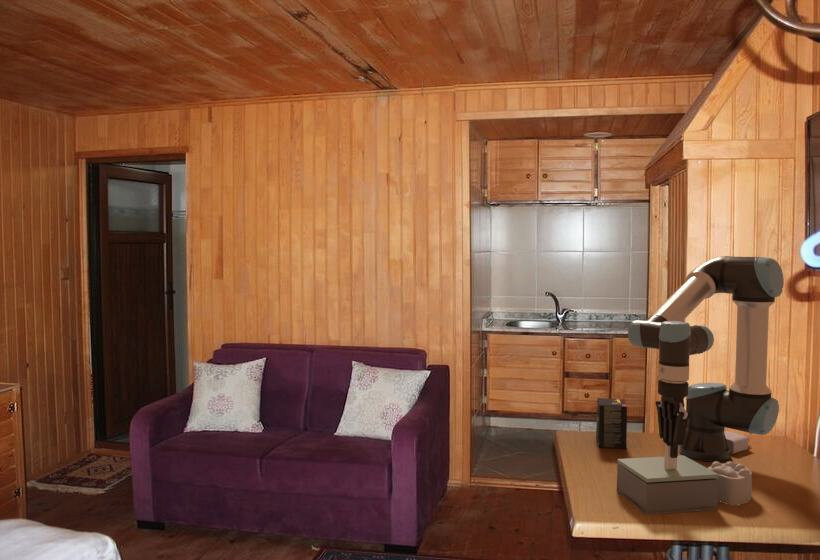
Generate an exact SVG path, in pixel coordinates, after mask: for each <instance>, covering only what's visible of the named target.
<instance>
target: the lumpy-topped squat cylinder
mask: <svg viewBox="0 0 820 560" xmlns="http://www.w3.org/2000/svg"><path fill="white" fill-rule="evenodd" d="M707 468H708V469H710V470H712V471H713V472H715V473H717V474H719V475H718V478H716V479H718V502H719V501H721V502H720V503H722V502H724V503H723V504H725V503H727V504H726V505H728V504H731V505H730V506H739V505H738V504H743V503H745V502H747V501H749V500H750V499H751V500H752V487H753V486H752V485H753V473H752V470H751V469H749V468H748V467H747V466H745V465H744V464H742V463H738V464H737V463H735V462H733V461H726V462H725V463H721V461H712V463H711V465H710V466H708V467H707ZM751 500H750V501H751ZM750 501H749V502H750ZM747 503H748V502H747ZM745 504H746V503H745ZM743 505H744V504H743Z"/></svg>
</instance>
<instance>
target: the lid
mask: <svg viewBox="0 0 820 560" xmlns="http://www.w3.org/2000/svg"><path fill="white" fill-rule="evenodd" d="M616 461H617V463H619V464H620V465H622V466H623V467H625V468H626V469H628V470H629V471H631V472H632V473H634V474H635V475H637V476H638V477H639V478H641V479H642V480H644V481H645V482H647V483H648V482H664V481H680V480H696V479H712V478H718V475H719V474H717V473H715V472H713V471H712V470H710V469H708V467H706V466H704V465H703V464H700V463H699V462H696V461H695V460H694V459H692V458H689V457H687V456H684V455H682V454H681V455H678V457H677V469H669V470H667V469H666V468H664V456H652V457H632V458H631V457H627V458H617V460H616Z"/></svg>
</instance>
